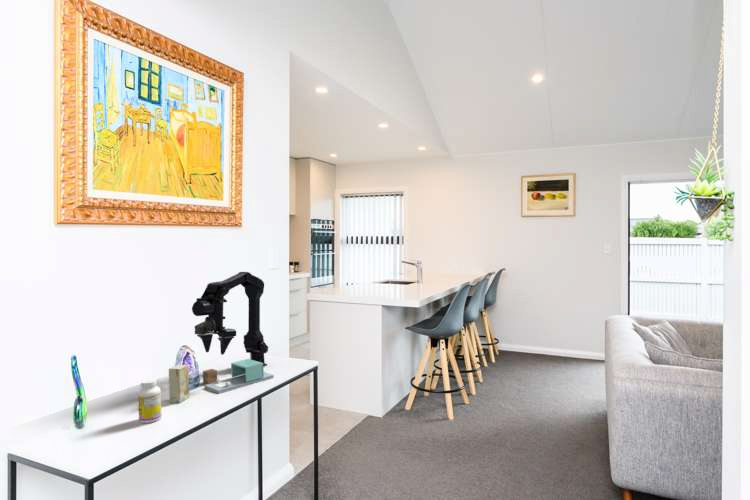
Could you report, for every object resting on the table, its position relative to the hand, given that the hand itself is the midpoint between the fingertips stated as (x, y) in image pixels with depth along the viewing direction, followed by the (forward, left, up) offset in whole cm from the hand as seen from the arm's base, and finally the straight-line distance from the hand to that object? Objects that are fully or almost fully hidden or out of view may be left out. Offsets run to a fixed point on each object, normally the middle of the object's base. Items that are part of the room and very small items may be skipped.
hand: (214, 353), depth 189 cm
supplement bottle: (+17, -33, -13) cm, 39 cm away
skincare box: (+6, -18, -13) cm, 23 cm away
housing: (+6, +11, -11) cm, 16 cm away
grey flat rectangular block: (+6, +7, -12) cm, 16 cm away
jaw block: (-4, 0, -13) cm, 13 cm away
